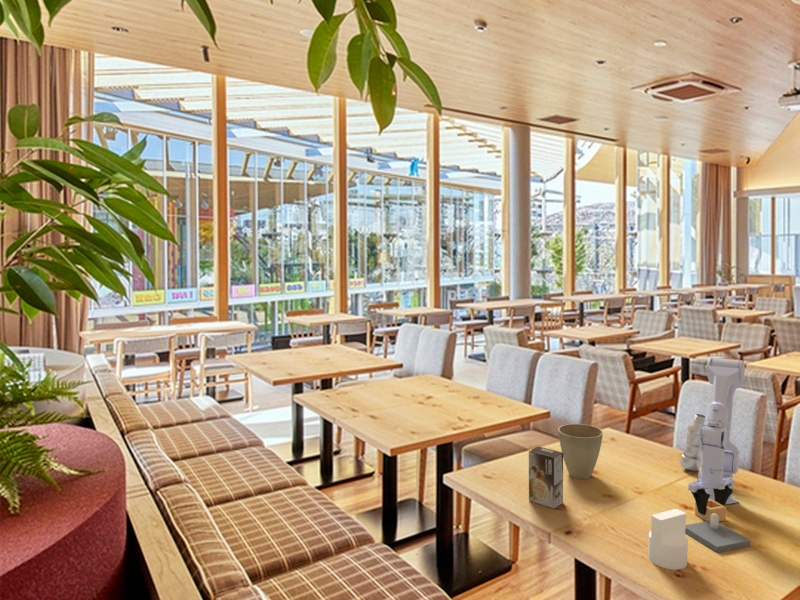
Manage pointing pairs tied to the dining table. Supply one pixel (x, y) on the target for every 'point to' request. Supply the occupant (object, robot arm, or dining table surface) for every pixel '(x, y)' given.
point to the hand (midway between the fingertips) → (710, 512)
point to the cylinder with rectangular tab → (668, 540)
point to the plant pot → (580, 448)
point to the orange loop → (712, 510)
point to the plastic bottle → (693, 445)
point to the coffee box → (546, 477)
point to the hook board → (716, 535)
